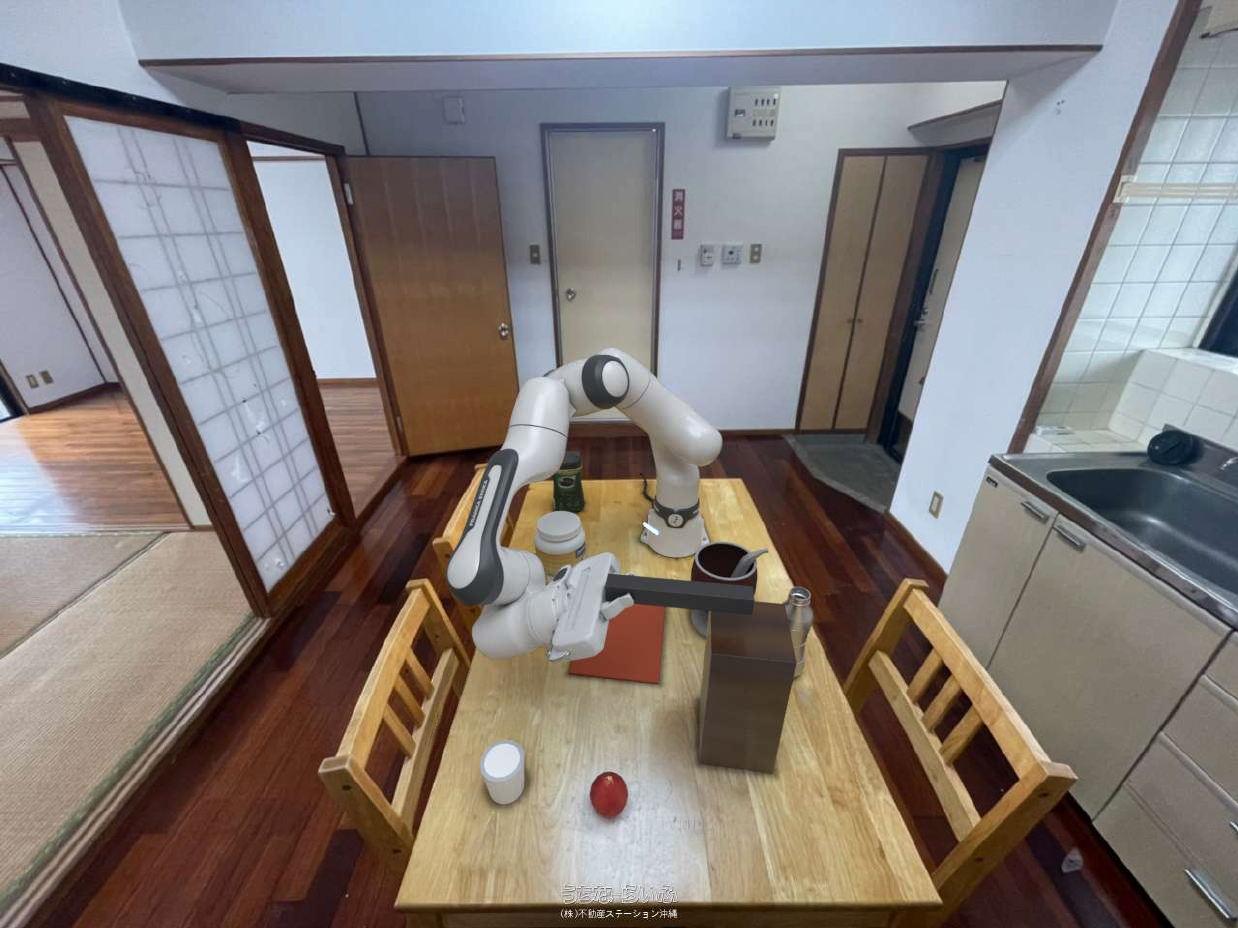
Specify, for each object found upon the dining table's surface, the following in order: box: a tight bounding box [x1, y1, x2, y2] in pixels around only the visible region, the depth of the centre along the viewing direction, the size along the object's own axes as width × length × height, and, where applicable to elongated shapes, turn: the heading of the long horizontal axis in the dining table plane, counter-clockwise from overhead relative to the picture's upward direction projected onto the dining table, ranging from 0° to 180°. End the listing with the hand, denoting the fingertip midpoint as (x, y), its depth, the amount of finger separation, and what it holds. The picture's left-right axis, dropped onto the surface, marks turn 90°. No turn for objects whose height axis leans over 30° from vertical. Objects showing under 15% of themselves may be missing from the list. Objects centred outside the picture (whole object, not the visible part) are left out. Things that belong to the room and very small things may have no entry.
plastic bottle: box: [781, 586, 815, 678], centre depth 99 cm, size 6×7×20 cm
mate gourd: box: [690, 540, 769, 638], centre depth 111 cm, size 16×14×20 cm
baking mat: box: [568, 604, 666, 685], centre depth 112 cm, size 22×18×1 cm
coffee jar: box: [552, 450, 586, 513], centre depth 154 cm, size 10×8×19 cm
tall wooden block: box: [699, 600, 797, 774], centre depth 85 cm, size 12×12×26 cm
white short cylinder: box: [479, 739, 525, 805], centre depth 82 cm, size 7×7×7 cm
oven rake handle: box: [605, 573, 756, 615], centre depth 78 cm, size 3×22×3 cm, turn 82°
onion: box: [589, 771, 629, 818], centre depth 79 cm, size 6×6×8 cm
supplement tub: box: [533, 510, 587, 586], centre depth 125 cm, size 12×12×17 cm
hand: (634, 587), depth 79 cm, fingers closed on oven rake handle, 3 cm apart
